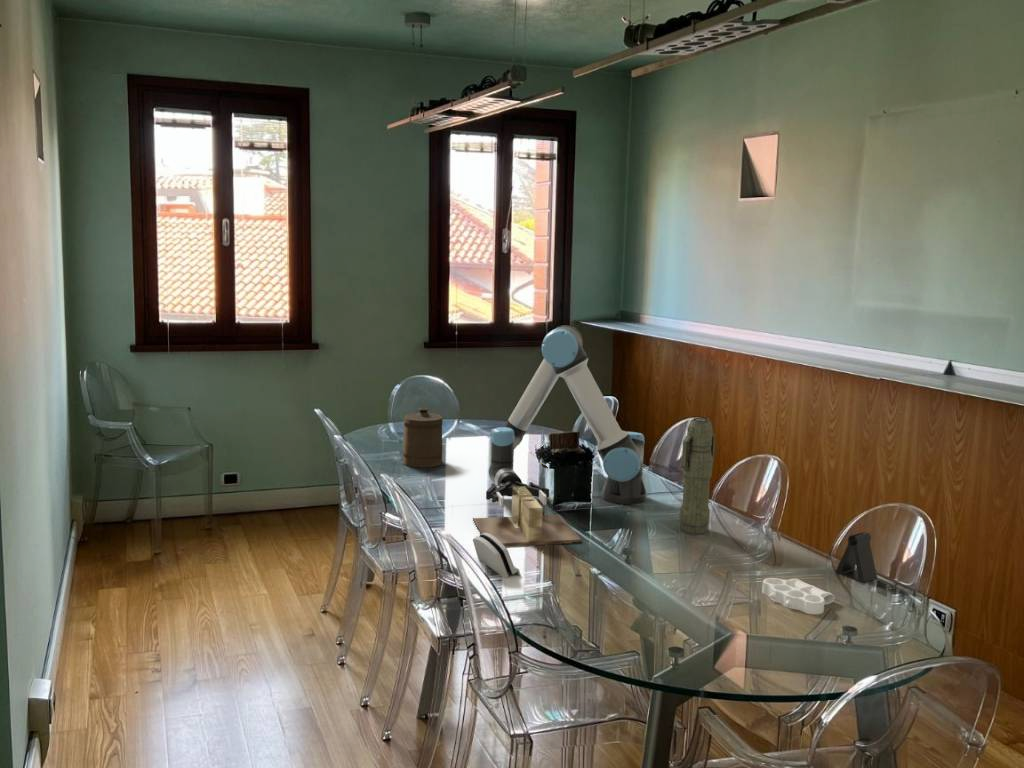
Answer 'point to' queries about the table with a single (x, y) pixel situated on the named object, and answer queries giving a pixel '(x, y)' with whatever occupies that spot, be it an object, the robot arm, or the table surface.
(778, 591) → the white egg tray
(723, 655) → the table surface
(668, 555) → the table surface
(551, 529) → the mounting board
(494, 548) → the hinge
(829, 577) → the table surface
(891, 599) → the table surface
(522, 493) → the tan wooden brick
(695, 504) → the stone statue
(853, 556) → the phone stand
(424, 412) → the wooden container
